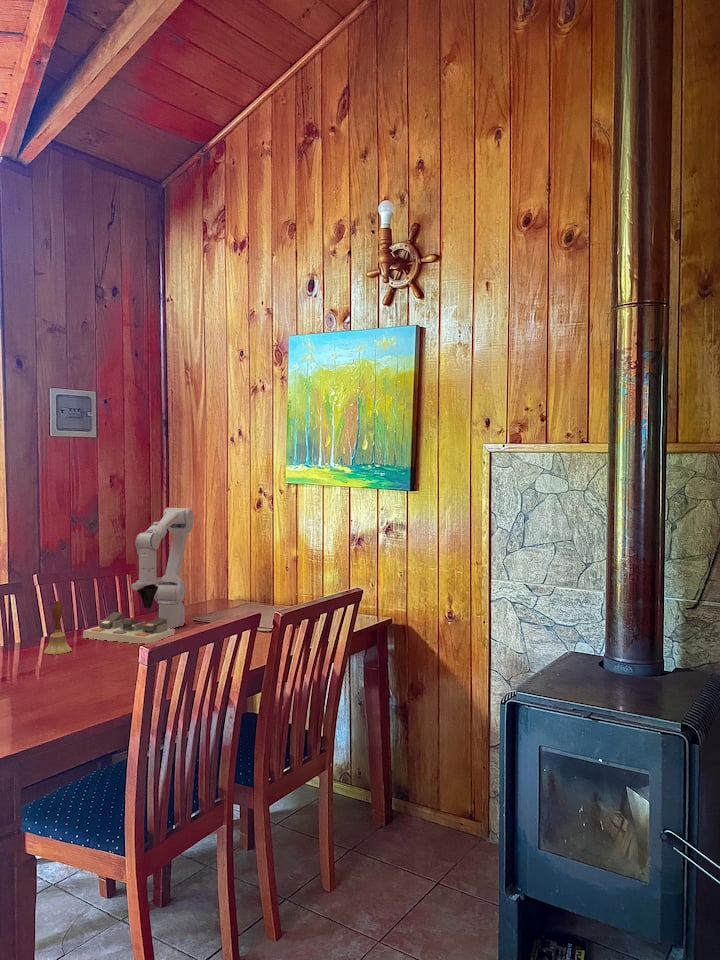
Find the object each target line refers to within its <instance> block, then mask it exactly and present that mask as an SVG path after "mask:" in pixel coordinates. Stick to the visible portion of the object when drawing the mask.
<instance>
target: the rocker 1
mask: <svg viewBox="0 0 720 960" xmlns="http://www.w3.org/2000/svg"><path fill="white" fill-rule="evenodd" d="M124 617H125V616H124V613H123V612H119V611H113V612H112V613H110V614H109V615H108V616H107V617H105V618H104V619H102V620H103V621H102V622H101V623H100V624H99V623H98V626H100V628H106V629H110V628H111V627H112V622H115V621H118V620H121V619H124Z"/></svg>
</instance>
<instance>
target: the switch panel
mask: <svg viewBox="0 0 720 960" xmlns="http://www.w3.org/2000/svg"><path fill="white" fill-rule="evenodd" d="M103 620H104V619H101V620H98V626H95V627H91V628H88V629H84V630H82V638H83V639H86V638H89V639H88V640H95V639H97V640H98V641H104V640H107V641H106V642H113V641H118V642H117V643H122V642H129V643H128V644H131V643H138V644H137V645H140V644H139V643H145V644H147V643H151V642H155V641H158V640H161V639H163V638H166V637H168V636H171V635H174V633H175V634H176V629H169V628H168V624H163V625H160V626H157V627H156V630H154V631H146V630H143V625H145V624H147V622H146V621H145V622H140V623H137V624H134V625H130V624H122V623H121V620H118V621H115V622H112V627H111V628H110V629H106V628H100V626H99V624H100V623H101V622H102V621H103ZM97 640H96V641H97Z"/></svg>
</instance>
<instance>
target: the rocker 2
mask: <svg viewBox="0 0 720 960" xmlns="http://www.w3.org/2000/svg"><path fill="white" fill-rule="evenodd" d="M163 624H167V619H162V618H159V617H157V618H155V619H152V620H151V621H148V622H146V624H145V625H143V630H146V631H154V630H156V627H157V626H160V625H163Z"/></svg>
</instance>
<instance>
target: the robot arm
mask: <svg viewBox="0 0 720 960" xmlns="http://www.w3.org/2000/svg"><path fill="white" fill-rule="evenodd" d="M162 513H163V515H162V516H163V517H162V518H161V519H160V520H159V521H154V522H153V523H152V524H151V525H150V526H149V528H147V529H146V530H145V531H144V532H140V533H138V534H137V535H136V538H135V542H134V545H135V547H136V550H137V551H136V553H137V555H138V580H136V582H134V583H132V584H131V591H137V592H138V593H139V596H140V598H141V601H142V605H143V608H144V609H151V608H152V606H153V602H154V600H155V601H156V604H158V618H162V619H167V624H168V628H169V629H170V628H172V627H177V626H179V625H180V624H183V623H186V621H185V620H186V619H185V615H186V614H185V611H186V608H185V605H184V603H183V602H182V601H183V600H184V598H185V594H186V591H185V587H186V584H185V582H184V580H183V579H182V578H180V573H181V569H182V563H183V559H184V554H185V549H186V544H187V539H188V534H189V533H191V532H192V529H193V524H194V519H195V515H194V511H193V509H192V508H191V507H170V506H169V507H166V508H165V509H164V510H163V512H162ZM168 531H169V532H170V533H172V535H173V536H172V541H171V545H170V551H169V554H168V560H167V564H166V568H165V574H164V575H163V576H162V577H157V550H158V549H159V547H160V544H161V542H162V539H163V538H164V537H165V536H166V535H167V533H168Z"/></svg>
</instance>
